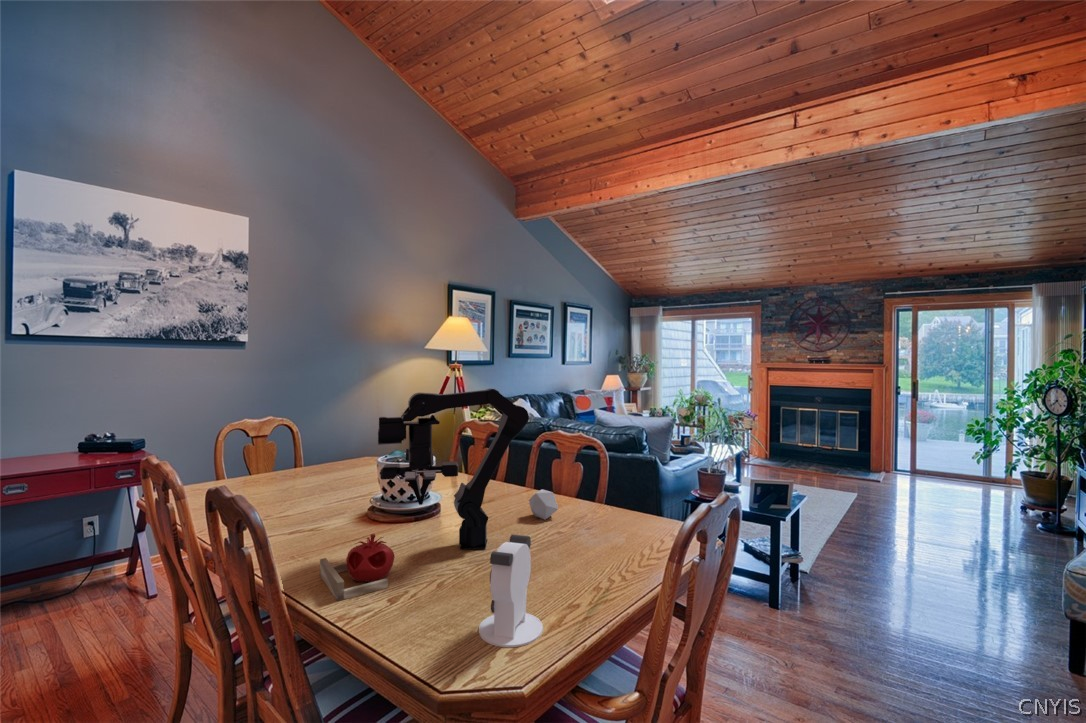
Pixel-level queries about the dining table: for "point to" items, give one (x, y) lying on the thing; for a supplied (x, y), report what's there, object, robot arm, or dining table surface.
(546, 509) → the die
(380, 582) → the cradle
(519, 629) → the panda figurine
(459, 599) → the dining table surface
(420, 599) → the dining table surface
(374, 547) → the pomegranate
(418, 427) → the robot arm
